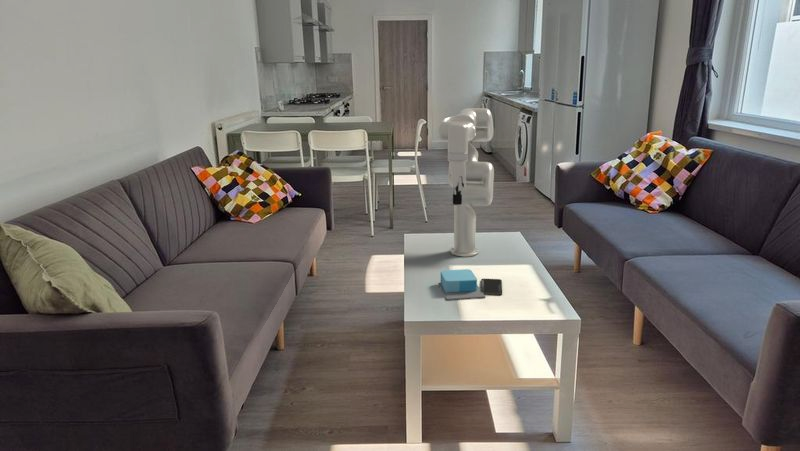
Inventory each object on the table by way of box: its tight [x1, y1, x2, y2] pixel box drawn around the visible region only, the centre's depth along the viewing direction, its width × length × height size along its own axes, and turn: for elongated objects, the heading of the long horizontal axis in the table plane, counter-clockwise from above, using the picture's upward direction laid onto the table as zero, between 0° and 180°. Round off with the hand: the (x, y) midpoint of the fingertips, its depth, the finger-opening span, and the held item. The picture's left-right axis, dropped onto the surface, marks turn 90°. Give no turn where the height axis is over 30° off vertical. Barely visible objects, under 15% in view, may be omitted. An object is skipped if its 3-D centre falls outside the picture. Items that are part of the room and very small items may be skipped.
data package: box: [440, 268, 478, 293], centre depth 204 cm, size 12×4×12 cm
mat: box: [437, 282, 486, 301], centre depth 201 cm, size 16×14×1 cm
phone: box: [480, 278, 503, 297], centre depth 204 cm, size 8×1×15 cm
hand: (457, 204), depth 211 cm, fingers closed
